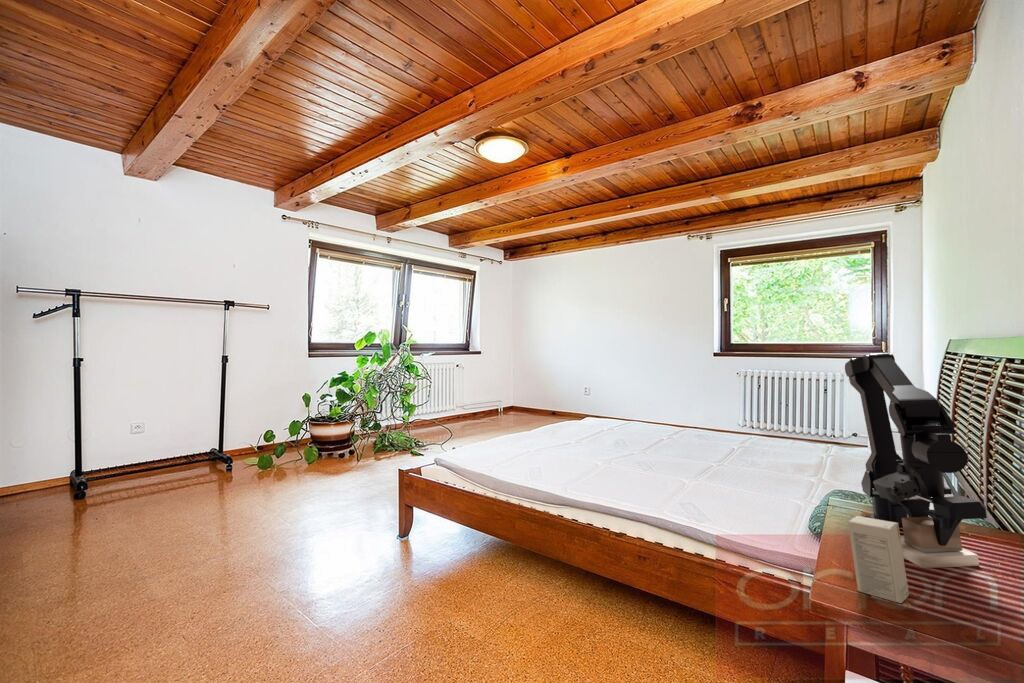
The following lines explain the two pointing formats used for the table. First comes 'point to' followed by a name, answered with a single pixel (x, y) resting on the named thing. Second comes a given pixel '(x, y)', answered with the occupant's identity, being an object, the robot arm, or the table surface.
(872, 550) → the skincare box
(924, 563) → the birch board
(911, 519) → the block
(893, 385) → the robot arm
